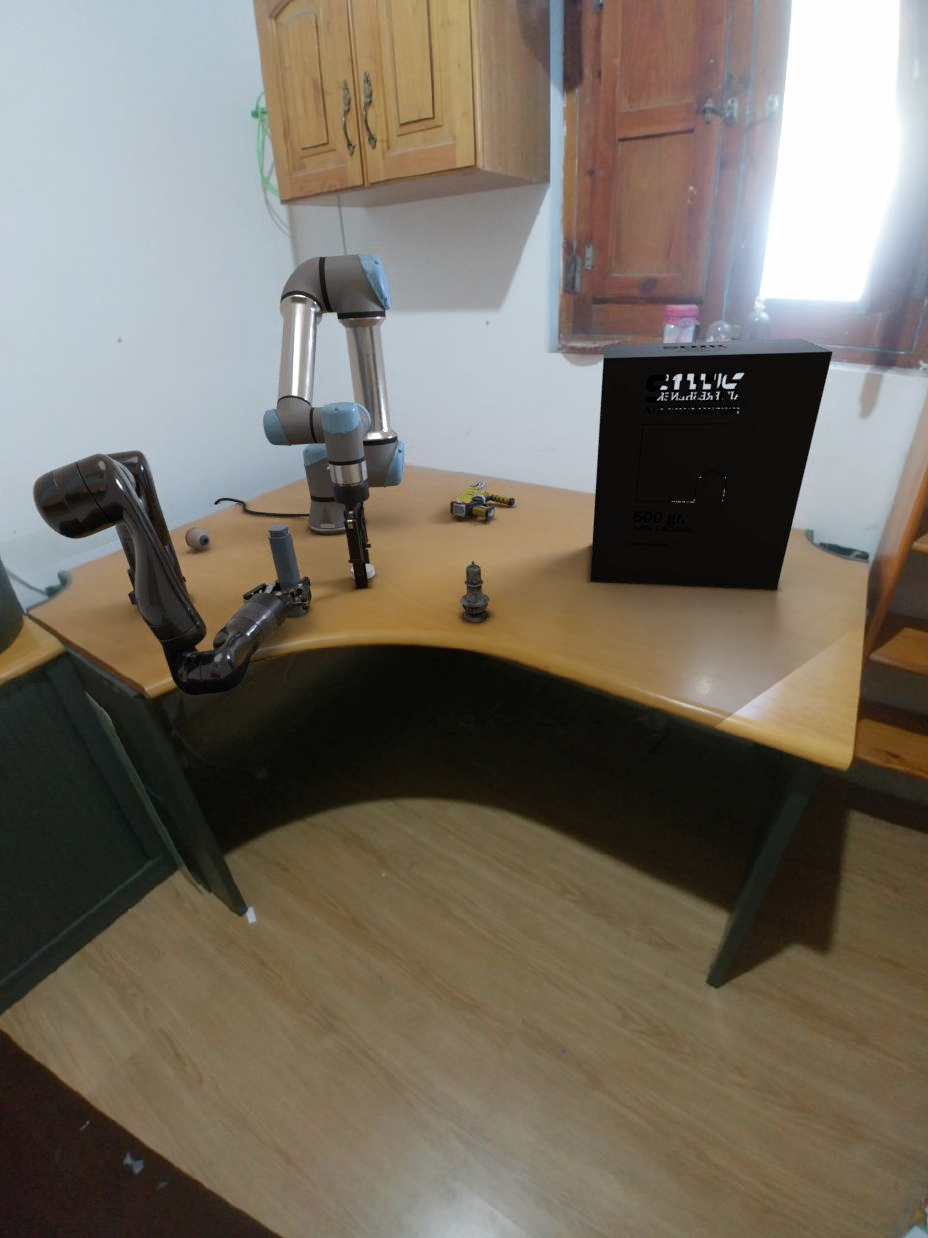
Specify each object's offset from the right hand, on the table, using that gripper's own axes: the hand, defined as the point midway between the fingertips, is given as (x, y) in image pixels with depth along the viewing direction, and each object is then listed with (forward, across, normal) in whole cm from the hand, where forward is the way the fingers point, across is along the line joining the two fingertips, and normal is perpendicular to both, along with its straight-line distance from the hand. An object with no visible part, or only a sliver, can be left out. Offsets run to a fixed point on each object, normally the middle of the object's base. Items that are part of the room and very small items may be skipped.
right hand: (364, 581), depth 137 cm
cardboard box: (0, +1, +71) cm, 71 cm away
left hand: (-6, +10, -12) cm, 17 cm away
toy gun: (-1, -44, +31) cm, 54 cm away
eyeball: (0, -25, -46) cm, 52 cm away
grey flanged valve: (0, +19, +25) cm, 31 cm away
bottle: (0, +12, -13) cm, 18 cm away
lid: (-3, 0, 0) cm, 3 cm away
